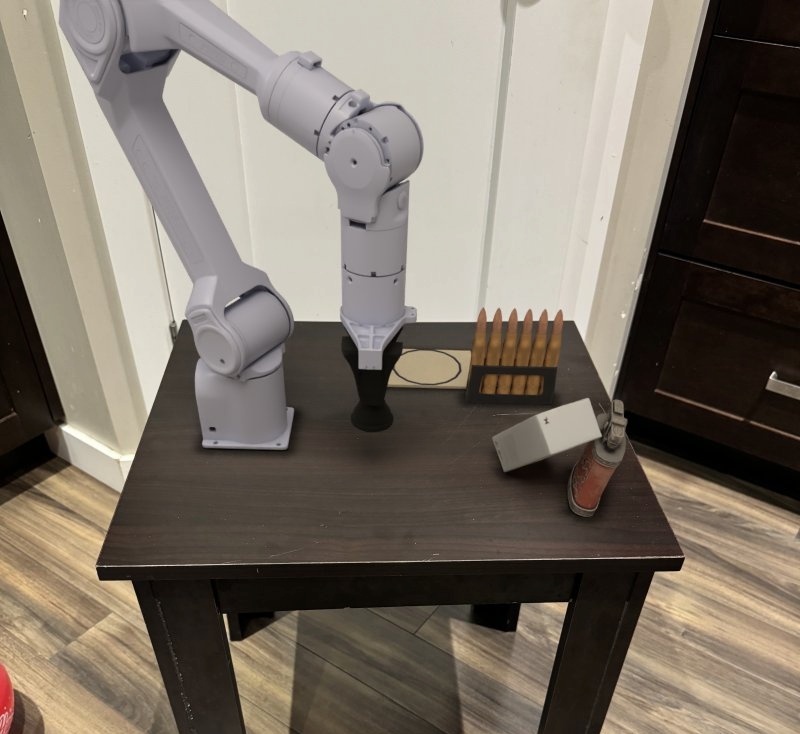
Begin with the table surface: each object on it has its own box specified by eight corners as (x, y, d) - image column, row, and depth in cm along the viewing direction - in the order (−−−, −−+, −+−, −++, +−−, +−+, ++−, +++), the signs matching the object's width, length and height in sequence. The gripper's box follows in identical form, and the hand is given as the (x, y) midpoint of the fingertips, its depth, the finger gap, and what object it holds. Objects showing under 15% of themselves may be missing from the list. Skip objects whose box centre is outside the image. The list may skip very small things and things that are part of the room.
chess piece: (342, 416, 79) (340, 326, 72) (379, 404, 81) (380, 316, 74) (364, 437, 76) (365, 346, 69) (401, 425, 78) (405, 335, 71)
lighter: (597, 520, 79) (637, 445, 72) (565, 511, 79) (602, 435, 72) (598, 472, 84) (635, 398, 77) (569, 463, 84) (603, 389, 77)
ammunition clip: (550, 395, 96) (567, 306, 88) (552, 404, 94) (570, 313, 86) (464, 394, 95) (474, 303, 87) (466, 402, 94) (475, 311, 86)
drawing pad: (379, 386, 96) (379, 383, 96) (380, 350, 103) (381, 347, 102) (475, 389, 96) (475, 386, 96) (470, 353, 103) (470, 350, 103)
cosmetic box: (503, 474, 84) (549, 456, 72) (490, 437, 84) (534, 413, 72) (551, 457, 85) (604, 436, 74) (538, 420, 85) (589, 395, 74)
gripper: (420, 302, 62) (412, 440, 71) (418, 232, 73) (412, 360, 82) (332, 299, 62) (336, 437, 71) (344, 230, 72) (346, 357, 82)
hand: (372, 396), depth 76 cm, fingers closed on chess piece, 2 cm apart
